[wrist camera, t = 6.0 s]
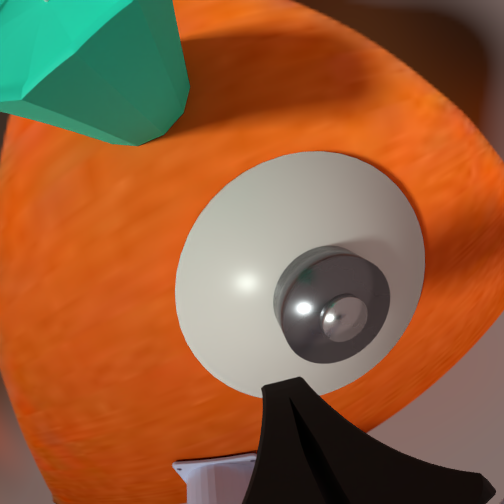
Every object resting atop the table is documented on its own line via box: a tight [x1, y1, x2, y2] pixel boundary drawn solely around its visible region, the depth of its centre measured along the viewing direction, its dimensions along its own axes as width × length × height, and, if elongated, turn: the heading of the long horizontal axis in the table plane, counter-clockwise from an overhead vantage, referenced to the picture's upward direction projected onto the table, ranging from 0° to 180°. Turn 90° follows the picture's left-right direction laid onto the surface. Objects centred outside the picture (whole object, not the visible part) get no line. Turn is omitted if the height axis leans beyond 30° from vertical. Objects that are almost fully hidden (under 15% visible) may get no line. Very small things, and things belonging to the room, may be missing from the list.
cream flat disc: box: [175, 151, 425, 398], centre depth 16 cm, size 16×16×1 cm
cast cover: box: [273, 246, 390, 364], centre depth 14 cm, size 6×6×3 cm
